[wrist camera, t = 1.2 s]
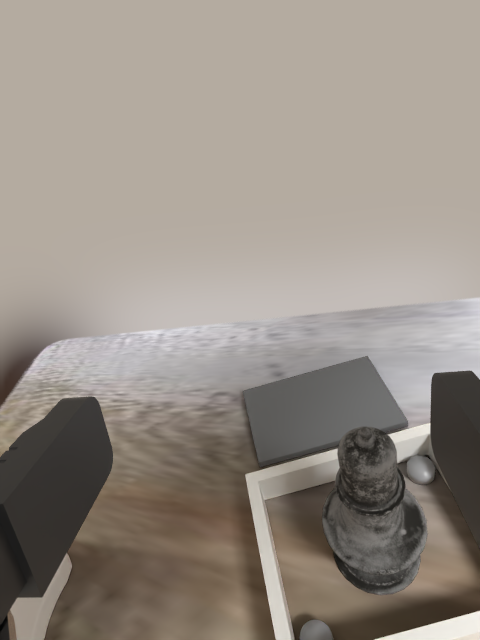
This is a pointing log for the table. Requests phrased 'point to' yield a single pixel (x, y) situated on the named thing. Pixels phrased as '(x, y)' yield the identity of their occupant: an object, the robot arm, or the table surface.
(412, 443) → the frame
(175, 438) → the table surface
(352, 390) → the rubber mat
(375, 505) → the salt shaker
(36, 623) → the jar
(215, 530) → the table surface
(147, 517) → the table surface
